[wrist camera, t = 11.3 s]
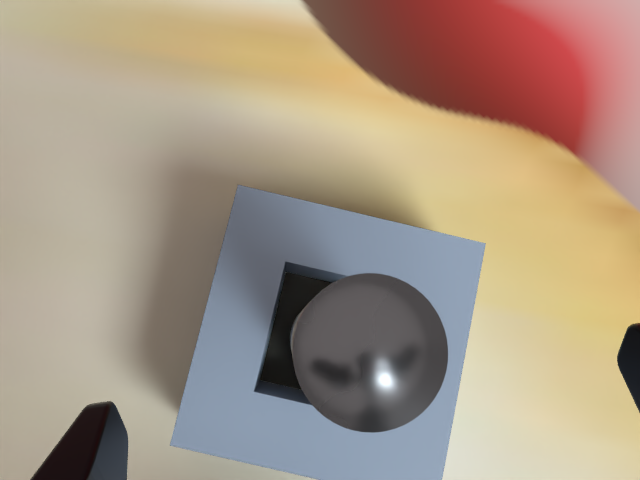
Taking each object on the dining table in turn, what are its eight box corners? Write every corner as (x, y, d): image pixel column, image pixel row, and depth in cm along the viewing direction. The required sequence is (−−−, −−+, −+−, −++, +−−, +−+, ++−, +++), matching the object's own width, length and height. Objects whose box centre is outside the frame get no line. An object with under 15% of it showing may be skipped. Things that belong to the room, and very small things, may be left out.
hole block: (411, 474, 22) (436, 506, 19) (190, 423, 22) (169, 445, 18) (453, 256, 24) (485, 243, 20) (246, 207, 24) (238, 184, 20)
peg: (320, 390, 23) (359, 466, 10) (275, 331, 23) (261, 338, 11) (377, 343, 23) (480, 363, 11) (331, 286, 23) (381, 242, 11)
